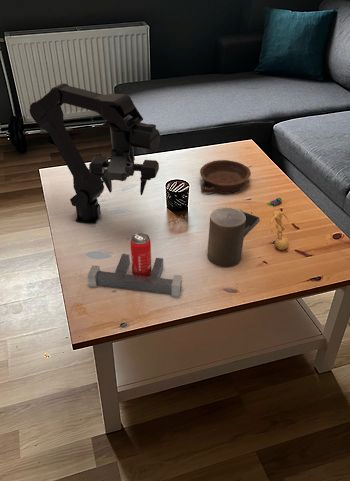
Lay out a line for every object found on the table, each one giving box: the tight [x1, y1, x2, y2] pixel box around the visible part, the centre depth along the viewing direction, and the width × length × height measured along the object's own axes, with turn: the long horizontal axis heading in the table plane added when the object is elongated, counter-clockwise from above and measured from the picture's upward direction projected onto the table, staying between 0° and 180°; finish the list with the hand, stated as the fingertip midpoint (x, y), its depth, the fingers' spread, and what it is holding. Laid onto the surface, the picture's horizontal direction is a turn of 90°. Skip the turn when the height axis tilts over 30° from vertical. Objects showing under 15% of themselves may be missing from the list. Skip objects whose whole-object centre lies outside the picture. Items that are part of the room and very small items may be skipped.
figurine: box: [270, 210, 290, 251], centre depth 137 cm, size 8×6×12 cm
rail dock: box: [87, 253, 183, 298], centre depth 128 cm, size 24×11×4 cm, turn 80°
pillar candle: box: [206, 206, 246, 268], centre depth 132 cm, size 10×10×15 cm
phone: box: [240, 210, 260, 237], centre depth 148 cm, size 8×1×15 cm
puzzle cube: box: [267, 197, 283, 208], centre depth 158 cm, size 4×3×2 cm
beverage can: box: [130, 232, 152, 277], centre depth 127 cm, size 5×5×12 cm
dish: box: [199, 159, 252, 194], centre depth 168 cm, size 18×22×5 cm
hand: (126, 193), depth 139 cm, fingers open, 9 cm apart
